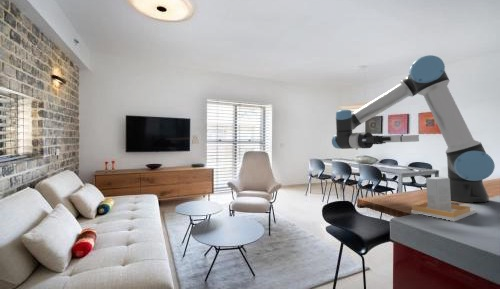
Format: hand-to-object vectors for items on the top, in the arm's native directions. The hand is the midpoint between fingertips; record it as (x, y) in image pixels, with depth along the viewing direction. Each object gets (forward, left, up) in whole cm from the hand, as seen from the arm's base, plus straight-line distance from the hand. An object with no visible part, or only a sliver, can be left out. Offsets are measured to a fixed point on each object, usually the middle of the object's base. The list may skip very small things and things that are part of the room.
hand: (409, 138), depth 98 cm
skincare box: (+1, +9, -27) cm, 29 cm away
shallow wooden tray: (-2, +10, -28) cm, 30 cm away
